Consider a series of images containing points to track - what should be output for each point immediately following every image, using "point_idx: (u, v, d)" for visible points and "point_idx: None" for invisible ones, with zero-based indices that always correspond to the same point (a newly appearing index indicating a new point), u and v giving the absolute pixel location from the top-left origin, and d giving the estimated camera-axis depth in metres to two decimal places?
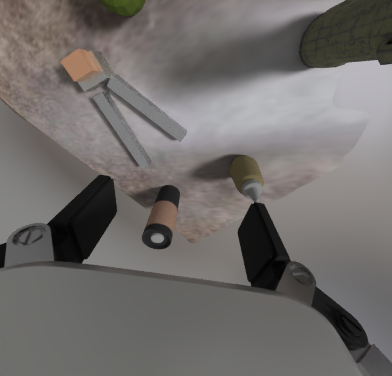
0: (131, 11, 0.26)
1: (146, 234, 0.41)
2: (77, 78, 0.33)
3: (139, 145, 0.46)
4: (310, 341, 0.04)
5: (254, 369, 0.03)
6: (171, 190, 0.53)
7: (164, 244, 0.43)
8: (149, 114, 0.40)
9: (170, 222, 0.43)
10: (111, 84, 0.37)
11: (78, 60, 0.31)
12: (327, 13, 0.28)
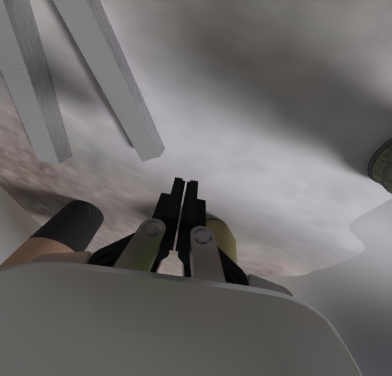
0: None
1: None
2: None
3: (54, 116, 0.21)
4: (310, 341, 0.04)
5: (254, 369, 0.03)
6: (88, 218, 0.29)
7: None
8: (102, 75, 0.17)
9: None
10: None
11: None
12: None
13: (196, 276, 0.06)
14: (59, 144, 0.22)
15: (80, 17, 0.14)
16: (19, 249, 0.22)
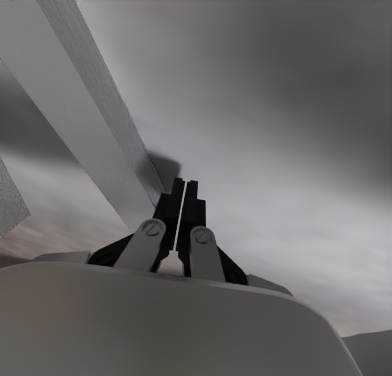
0: None
1: None
2: None
3: None
4: (310, 341, 0.04)
5: (254, 369, 0.03)
6: None
7: None
8: (52, 104, 0.08)
9: None
10: None
11: None
12: None
13: (196, 276, 0.06)
14: (0, 207, 0.13)
15: None
16: None
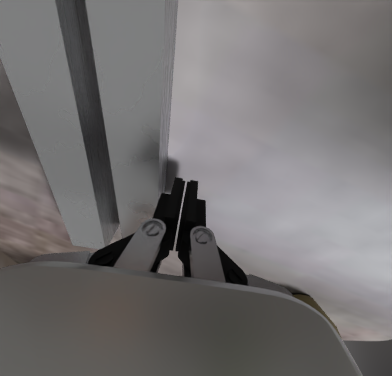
0: None
1: None
2: None
3: (106, 184, 0.12)
4: (310, 341, 0.04)
5: (254, 369, 0.03)
6: None
7: None
8: (122, 151, 0.09)
9: None
10: None
11: None
12: None
13: (196, 276, 0.06)
14: (108, 221, 0.14)
15: (132, 60, 0.07)
16: None
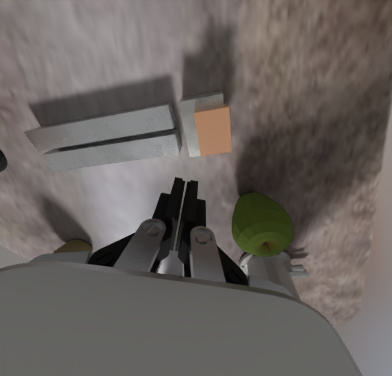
0: (232, 234, 0.25)
1: None
2: (197, 123, 0.17)
3: None
4: (310, 341, 0.04)
5: (254, 369, 0.03)
6: None
7: None
8: (104, 150, 0.23)
9: None
10: (171, 142, 0.22)
11: (219, 142, 0.18)
12: None
13: (196, 276, 0.06)
14: None
15: (133, 151, 0.23)
16: None
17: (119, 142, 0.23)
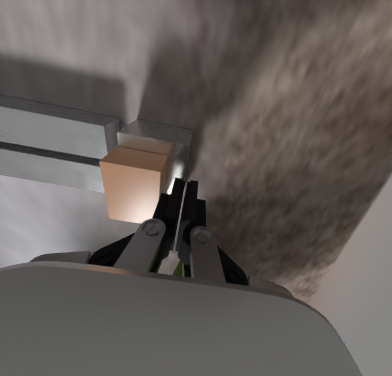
0: None
1: None
2: (104, 176, 0.10)
3: None
4: (310, 341, 0.04)
5: (254, 369, 0.03)
6: None
7: None
8: None
9: None
10: None
11: (139, 210, 0.12)
12: None
13: (196, 276, 0.06)
14: None
15: (36, 170, 0.14)
16: None
17: (12, 149, 0.14)
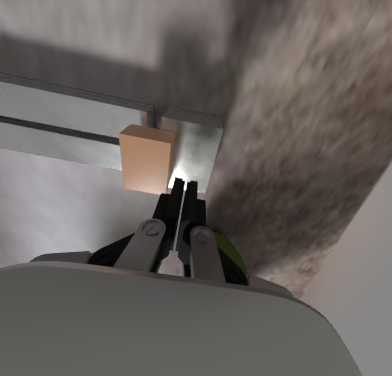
0: None
1: None
2: (122, 147, 0.12)
3: None
4: (310, 341, 0.04)
5: (254, 369, 0.03)
6: None
7: None
8: (32, 136, 0.15)
9: None
10: None
11: (150, 180, 0.13)
12: None
13: (196, 276, 0.06)
14: None
15: (80, 152, 0.16)
16: None
17: (61, 132, 0.15)
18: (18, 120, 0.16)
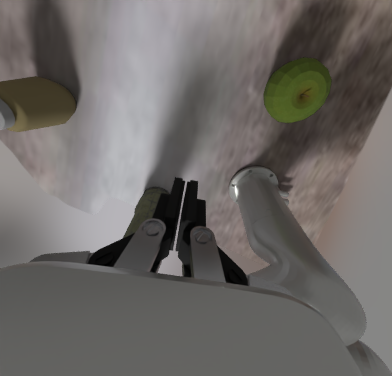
0: (269, 86, 0.24)
1: None
2: None
3: None
4: (310, 341, 0.04)
5: (254, 369, 0.03)
6: None
7: None
8: None
9: None
10: None
11: None
12: None
13: (196, 276, 0.06)
14: None
15: None
16: None
17: None
18: None
